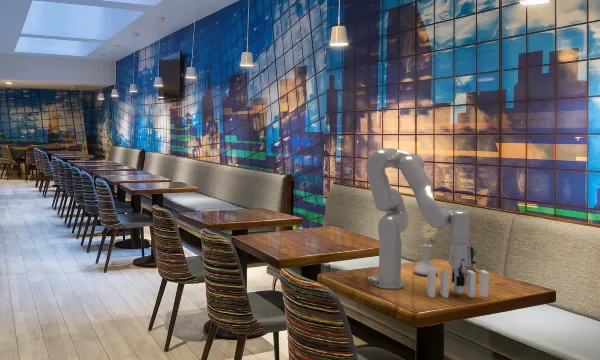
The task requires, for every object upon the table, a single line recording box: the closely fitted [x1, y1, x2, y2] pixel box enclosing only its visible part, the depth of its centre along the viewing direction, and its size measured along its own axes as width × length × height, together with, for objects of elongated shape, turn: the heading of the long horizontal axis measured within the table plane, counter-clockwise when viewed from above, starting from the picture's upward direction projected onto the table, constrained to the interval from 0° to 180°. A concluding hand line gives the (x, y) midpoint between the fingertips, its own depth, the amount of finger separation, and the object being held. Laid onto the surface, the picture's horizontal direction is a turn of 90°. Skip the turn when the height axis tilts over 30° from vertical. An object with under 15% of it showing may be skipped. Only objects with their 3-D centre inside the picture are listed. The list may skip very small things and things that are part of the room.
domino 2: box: [439, 269, 450, 298], centre depth 244 cm, size 2×5×10 cm, turn 3°
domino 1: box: [426, 270, 437, 298], centre depth 243 cm, size 2×5×10 cm, turn 3°
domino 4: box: [465, 270, 477, 298], centre depth 244 cm, size 2×5×10 cm, turn 3°
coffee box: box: [464, 243, 474, 284], centre depth 268 cm, size 9×6×16 cm
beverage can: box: [472, 247, 477, 273], centre depth 283 cm, size 8×8×12 cm
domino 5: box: [478, 269, 490, 298], centre depth 245 cm, size 2×5×10 cm, turn 3°
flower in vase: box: [413, 223, 439, 276], centre depth 279 cm, size 13×11×25 cm
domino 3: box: [453, 267, 464, 294], centre depth 244 cm, size 2×5×10 cm, turn 3°
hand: (458, 283), depth 244 cm, fingers closed on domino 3, 4 cm apart
